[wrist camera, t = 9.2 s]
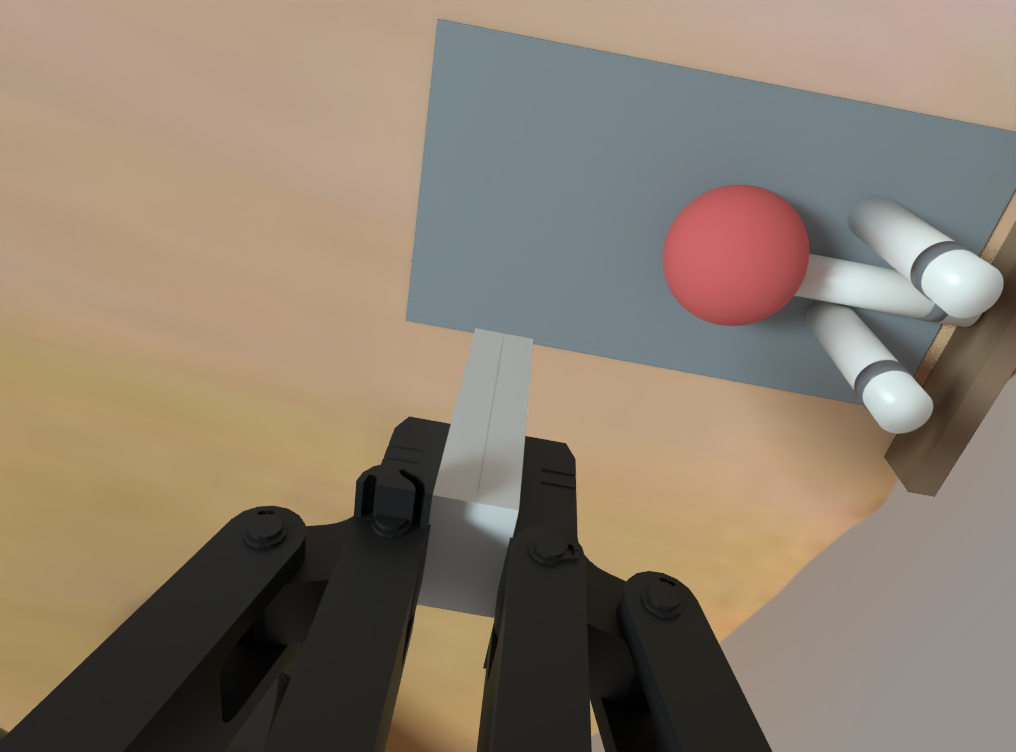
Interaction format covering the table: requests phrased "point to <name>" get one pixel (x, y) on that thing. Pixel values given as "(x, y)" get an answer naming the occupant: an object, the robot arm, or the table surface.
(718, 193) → the ball
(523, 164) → the plate
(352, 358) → the table surface
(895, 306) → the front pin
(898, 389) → the pin
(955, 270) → the pin
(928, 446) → the stopper wall
